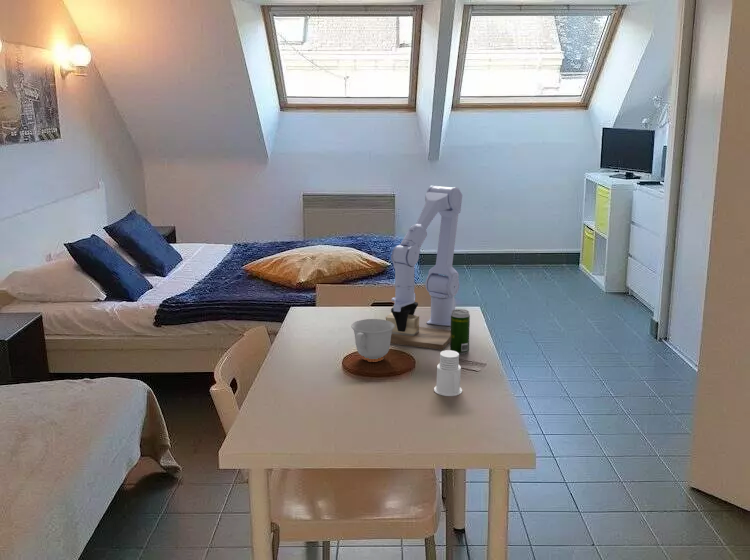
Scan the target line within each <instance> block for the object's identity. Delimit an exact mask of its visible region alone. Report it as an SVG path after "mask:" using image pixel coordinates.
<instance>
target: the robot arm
mask: <svg viewBox="0 0 750 560" xmlns="http://www.w3.org/2000/svg"><path fill="white" fill-rule="evenodd" d="M424 201H425V204H424V206H423V208H422V210H421V212H420V214H419V217H418V219H417V222H416V223H415V224H412V225H410V227H409V228H408V230H407V231H406V234H405V235H404V237H403V239H402V240H401V242H400V244H398V245H396V246H395V247H394V248H393V249H392V251H391V255H390V258H391V259H390V260H391V261H392V264H393V269H394V270H395V273H394V276H395V277H394V278H395V279H394V280H395V283H394V284H395V285H394V286H395V287H394V289H395V290H394V291H395V293H394V296H395V297H392V298H391V301H392V302H394V304H393V307H391V309H390V313H392V314H393V316H394V318H395V321H396V325H397V329H398V331H402V332H405V330H406V324H407V318H408V315H415V312H416V309H417V307H418V306H419V303H418V302H417V301H416V293H415V267H416V266H415V265H416V264H417V263H418V261H419V257H420V253H421V247H422V245H423V243H424V241H425V240H426V238H427V237H428V232H427V229H428V227H429V226H430V224H431V223H432V221H433V220H434V219H435V217H436V216H437V215H438V214H439V215H440V216H441V217H440V227H439V234H438V244H437V252H436V261H435V265H433V266H432V267H431V268H430V269H428V273H427V274H428V275H427V277H426V279H425V282H424V283H425V284H424V285H425V289H426V291H427V292H428V295H429V296H430V318H429V320H428V321H426V324H429V325H436V326H444V327H445V326H446V327H451V313H452V310H456V298H455V296H456V295H457V294H458V292H459V289H460V281H459V279H460V278H459V277H460V274H459V272H458V271H457V270H456V268H454V267H453V261H454V255H455V254H454V253H455V245H456V239H457V237H456V236H457V229H458V221H459V214H460V213H461V210H462V209H461V208H462V202H463V194H462V192H461V190H460V188H459V187H457V186H453V187H451V186H439V185H435V184H434V185H429V187H428V188H427V190H426V193H425V194H424Z"/></svg>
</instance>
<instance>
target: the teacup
mask: <svg viewBox="0 0 750 560" xmlns="http://www.w3.org/2000/svg"><path fill="white" fill-rule="evenodd" d="M350 327H351V329H352V330H353V335H354V340H355V342H354V343H355V346H356V351H357V353H358V355H360V356H361V357H363V356H364V357H365V358H369V359H378V358H381V357H383V358H384V356H386V355H387V354H388V352H389V351H390V348H391V343H390V341H391V334H392V329H393V328H394V327H395V325H394V324H393V323H392V322H390V321H387V320H386V319H379V318H368V319H367V318H366V319H365V318H364V319H360V320H357V321H354V322H353V323H352V324H351V325H350Z"/></svg>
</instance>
